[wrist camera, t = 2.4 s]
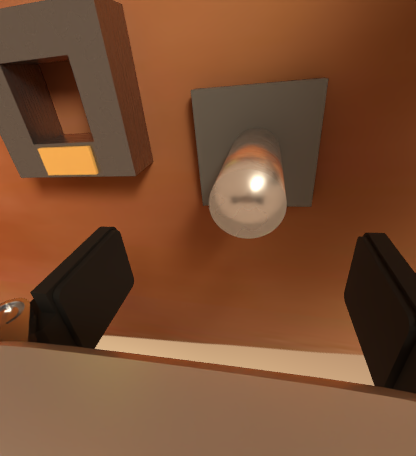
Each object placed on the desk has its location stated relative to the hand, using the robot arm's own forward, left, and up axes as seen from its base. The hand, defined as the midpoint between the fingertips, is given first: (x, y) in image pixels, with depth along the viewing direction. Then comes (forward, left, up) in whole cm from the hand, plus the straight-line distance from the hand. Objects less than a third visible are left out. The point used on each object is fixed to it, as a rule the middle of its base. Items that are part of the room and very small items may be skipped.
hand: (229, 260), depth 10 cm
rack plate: (+16, -5, -16) cm, 23 cm away
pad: (0, 0, -16) cm, 15 cm away
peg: (0, 0, -14) cm, 14 cm away
